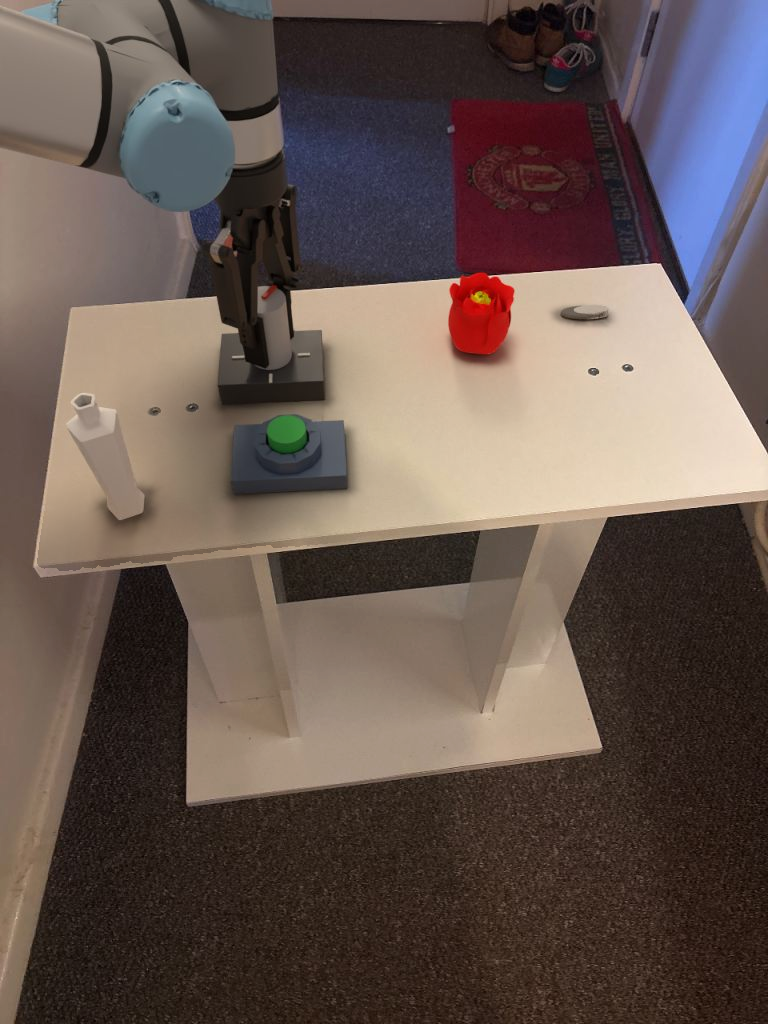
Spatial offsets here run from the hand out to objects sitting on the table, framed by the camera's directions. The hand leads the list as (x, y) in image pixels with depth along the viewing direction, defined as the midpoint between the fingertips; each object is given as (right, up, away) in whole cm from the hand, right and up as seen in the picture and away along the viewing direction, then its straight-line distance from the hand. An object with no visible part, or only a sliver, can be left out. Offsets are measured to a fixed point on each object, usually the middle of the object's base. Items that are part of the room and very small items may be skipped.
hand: (270, 348), depth 87 cm
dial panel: (0, -3, +3) cm, 4 cm away
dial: (0, -1, +1) cm, 1 cm away
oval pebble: (+39, +7, +11) cm, 41 cm away
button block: (+3, -14, -5) cm, 15 cm away
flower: (+25, +2, +7) cm, 26 cm away
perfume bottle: (-14, -18, -8) cm, 24 cm away
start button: (+3, -11, -8) cm, 14 cm away
